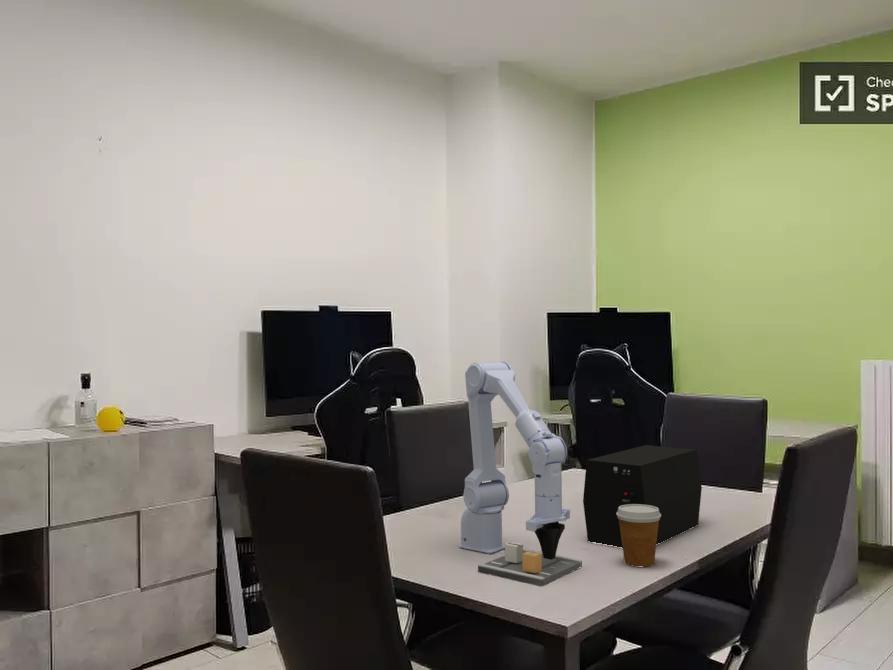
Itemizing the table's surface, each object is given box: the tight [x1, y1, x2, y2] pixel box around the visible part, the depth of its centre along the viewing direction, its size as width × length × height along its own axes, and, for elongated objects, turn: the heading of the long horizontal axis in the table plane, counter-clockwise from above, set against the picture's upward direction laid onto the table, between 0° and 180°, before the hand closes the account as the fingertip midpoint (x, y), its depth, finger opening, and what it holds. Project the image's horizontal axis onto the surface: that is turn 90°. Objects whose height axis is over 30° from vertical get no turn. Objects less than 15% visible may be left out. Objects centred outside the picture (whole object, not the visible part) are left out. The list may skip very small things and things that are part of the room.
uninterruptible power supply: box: [582, 444, 703, 548], centre depth 193 cm, size 16×34×20 cm, turn 139°
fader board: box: [477, 548, 583, 587], centre depth 165 cm, size 16×16×2 cm
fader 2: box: [523, 551, 542, 573], centre depth 159 cm, size 3×2×4 cm
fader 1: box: [504, 541, 524, 563], centre depth 166 cm, size 3×2×4 cm
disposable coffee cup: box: [616, 504, 661, 567], centre depth 168 cm, size 10×10×12 cm
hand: (549, 558), depth 164 cm, fingers closed
